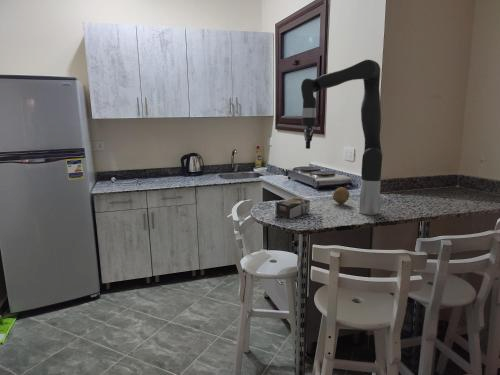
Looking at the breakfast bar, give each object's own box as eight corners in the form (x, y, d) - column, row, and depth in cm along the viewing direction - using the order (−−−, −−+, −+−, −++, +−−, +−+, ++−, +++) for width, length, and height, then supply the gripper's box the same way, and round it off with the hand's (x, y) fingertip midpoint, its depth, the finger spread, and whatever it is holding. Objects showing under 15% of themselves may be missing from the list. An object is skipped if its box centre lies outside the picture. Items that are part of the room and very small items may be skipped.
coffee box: (310, 199, 180) (290, 206, 169) (309, 211, 182) (289, 219, 171) (295, 195, 186) (275, 202, 175) (295, 207, 188) (275, 214, 177)
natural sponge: (349, 206, 195) (350, 189, 193) (332, 206, 197) (333, 188, 195) (348, 203, 204) (349, 186, 202) (332, 202, 206) (333, 185, 204)
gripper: (318, 116, 188) (317, 149, 191) (313, 116, 201) (311, 147, 204) (304, 116, 187) (303, 149, 191) (299, 116, 200) (298, 147, 204)
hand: (307, 148), depth 197 cm, fingers closed
